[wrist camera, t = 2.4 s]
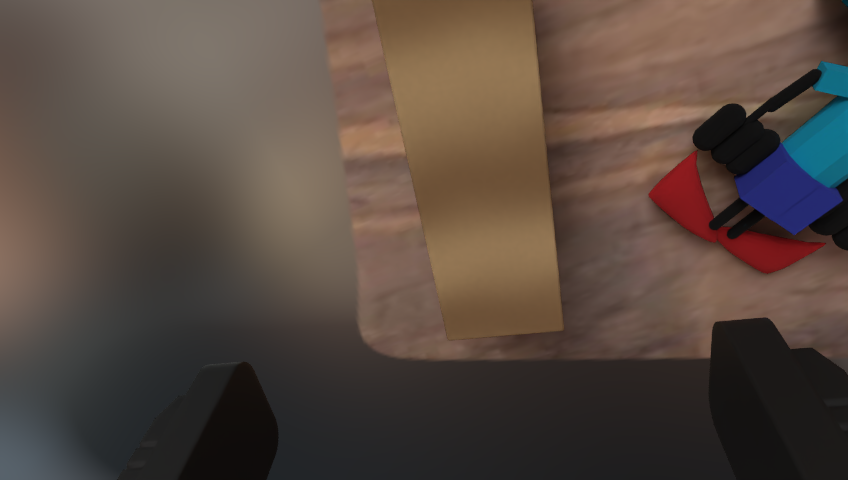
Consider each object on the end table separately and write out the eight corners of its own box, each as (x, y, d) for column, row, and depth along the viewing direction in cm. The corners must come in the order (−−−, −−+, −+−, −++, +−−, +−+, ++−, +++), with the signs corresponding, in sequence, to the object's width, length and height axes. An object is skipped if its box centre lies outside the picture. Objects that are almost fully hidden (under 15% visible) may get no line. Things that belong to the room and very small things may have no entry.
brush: (391, -46, 19) (365, -26, 15) (519, -73, 18) (526, -59, 14) (454, 269, 25) (447, 341, 21) (552, 258, 24) (564, 331, 20)
